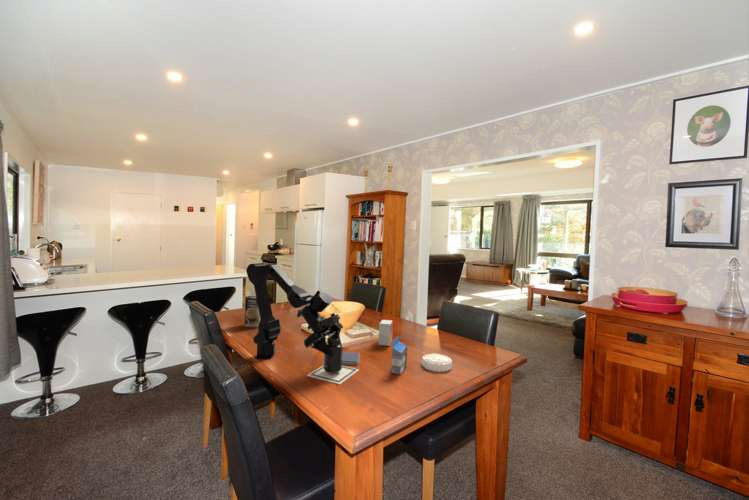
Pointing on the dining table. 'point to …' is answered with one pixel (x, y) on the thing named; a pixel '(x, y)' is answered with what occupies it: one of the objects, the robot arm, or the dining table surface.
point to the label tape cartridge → (398, 356)
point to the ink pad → (350, 358)
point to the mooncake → (436, 362)
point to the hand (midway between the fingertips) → (337, 353)
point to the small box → (385, 332)
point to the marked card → (333, 374)
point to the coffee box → (251, 312)
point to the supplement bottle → (335, 361)
